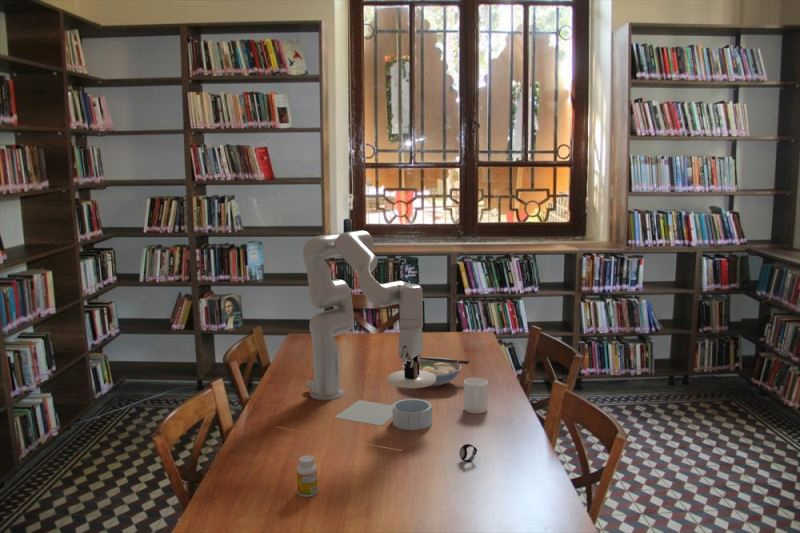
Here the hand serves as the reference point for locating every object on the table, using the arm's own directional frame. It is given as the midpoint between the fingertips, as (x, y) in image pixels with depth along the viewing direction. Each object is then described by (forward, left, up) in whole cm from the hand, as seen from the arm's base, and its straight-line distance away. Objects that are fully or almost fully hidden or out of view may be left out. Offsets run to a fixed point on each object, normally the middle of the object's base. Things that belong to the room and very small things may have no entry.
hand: (411, 376), depth 232 cm
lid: (0, 0, -1) cm, 1 cm away
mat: (-17, +2, -16) cm, 24 cm away
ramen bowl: (-9, +39, -17) cm, 43 cm away
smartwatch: (+27, -20, -17) cm, 37 cm away
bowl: (0, 0, -16) cm, 16 cm away
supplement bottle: (-6, -55, -17) cm, 58 cm away
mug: (+16, +18, -17) cm, 29 cm away
